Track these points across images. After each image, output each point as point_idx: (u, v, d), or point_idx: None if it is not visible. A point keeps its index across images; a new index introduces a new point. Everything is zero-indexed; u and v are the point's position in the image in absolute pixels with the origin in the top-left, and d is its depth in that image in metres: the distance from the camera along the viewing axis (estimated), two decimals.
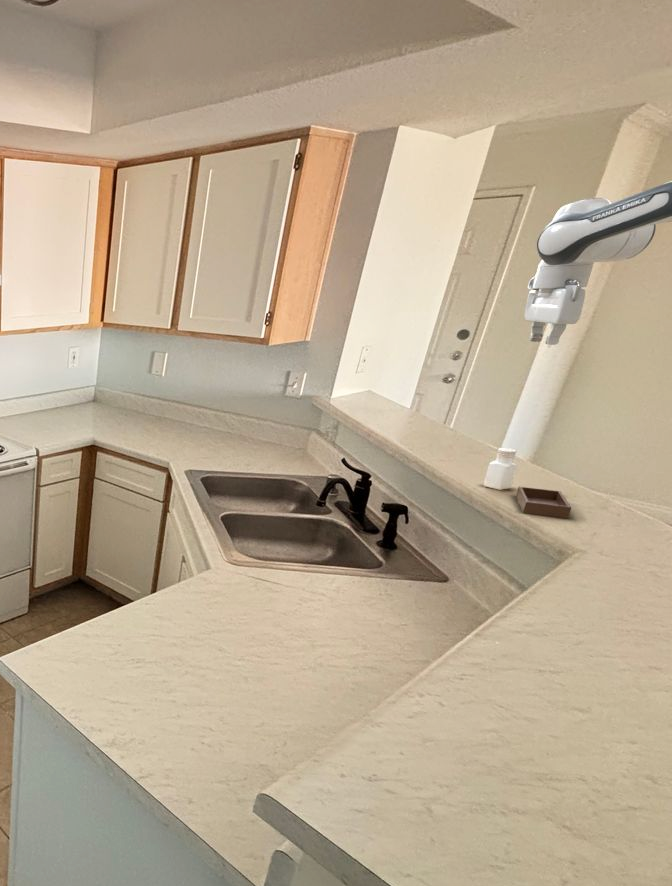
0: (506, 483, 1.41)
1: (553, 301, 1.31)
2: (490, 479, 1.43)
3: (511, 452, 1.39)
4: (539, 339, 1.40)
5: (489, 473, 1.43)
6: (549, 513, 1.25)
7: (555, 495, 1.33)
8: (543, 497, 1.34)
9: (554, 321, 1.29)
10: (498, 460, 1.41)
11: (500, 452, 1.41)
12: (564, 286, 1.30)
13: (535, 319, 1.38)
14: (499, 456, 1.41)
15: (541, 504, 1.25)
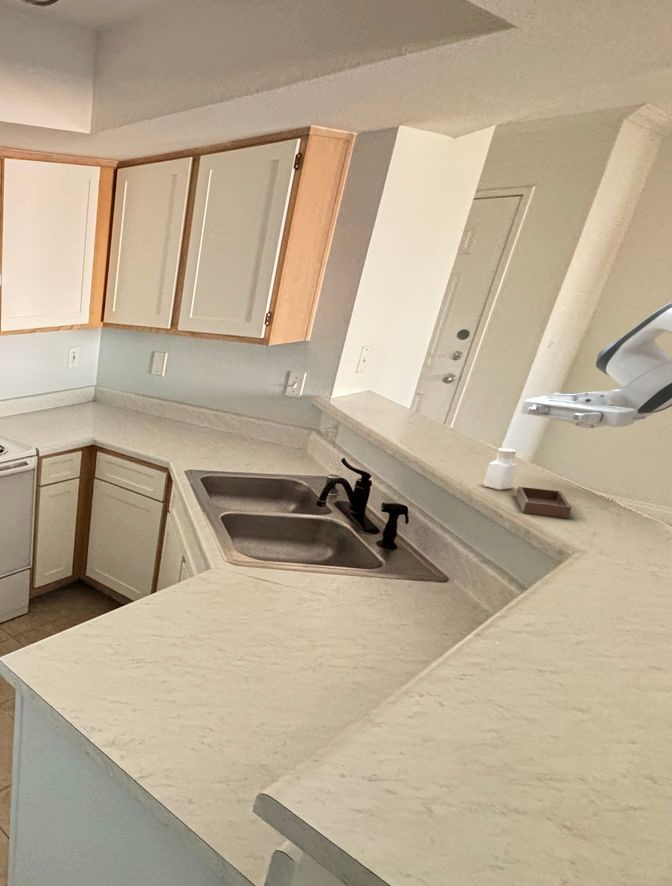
0: (506, 483, 1.41)
1: (605, 407, 1.38)
2: (490, 479, 1.43)
3: (511, 452, 1.39)
4: (534, 413, 1.45)
5: (489, 473, 1.43)
6: (549, 513, 1.25)
7: (555, 495, 1.33)
8: (543, 497, 1.34)
9: (616, 411, 1.33)
10: (498, 460, 1.41)
11: (500, 452, 1.41)
12: None
13: (559, 403, 1.43)
14: (499, 456, 1.41)
15: (541, 504, 1.25)
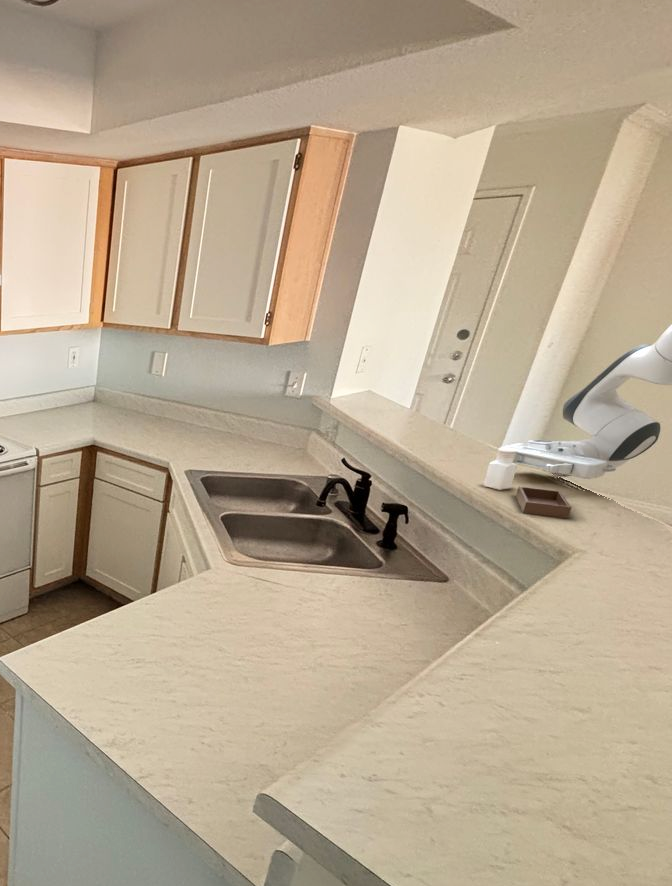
0: (506, 483, 1.41)
1: (577, 458, 1.41)
2: (490, 479, 1.43)
3: (511, 452, 1.39)
4: None
5: (489, 473, 1.43)
6: (549, 513, 1.25)
7: (555, 495, 1.33)
8: (543, 497, 1.34)
9: (586, 463, 1.36)
10: (498, 460, 1.41)
11: (500, 452, 1.41)
12: None
13: (532, 452, 1.46)
14: (499, 456, 1.41)
15: (541, 504, 1.25)
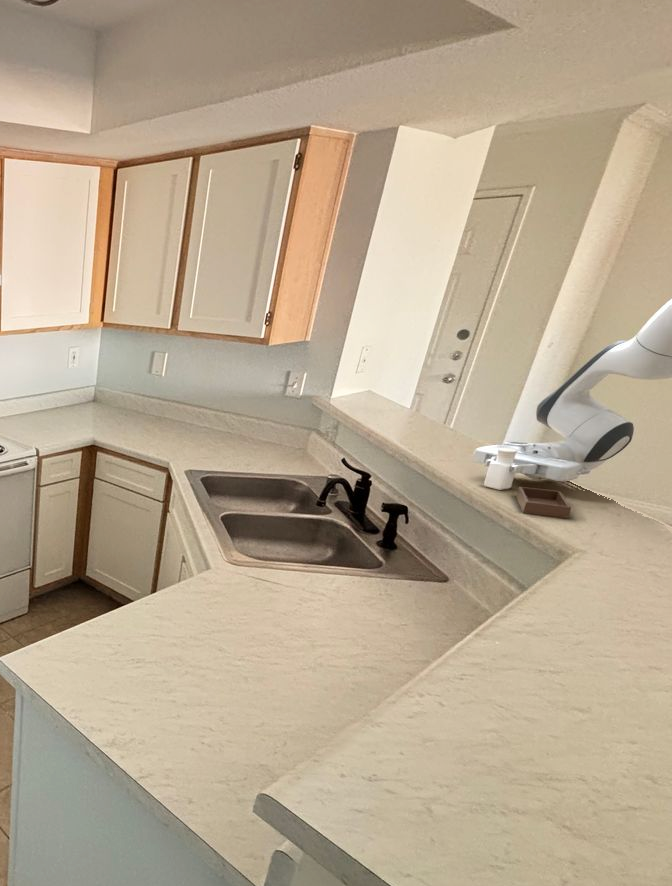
0: (506, 483, 1.41)
1: (551, 460, 1.39)
2: (490, 479, 1.43)
3: (511, 452, 1.39)
4: None
5: (489, 473, 1.43)
6: (549, 513, 1.25)
7: (555, 495, 1.33)
8: (543, 497, 1.34)
9: (560, 465, 1.34)
10: (498, 460, 1.41)
11: (500, 452, 1.41)
12: None
13: None
14: (499, 456, 1.41)
15: (541, 504, 1.25)
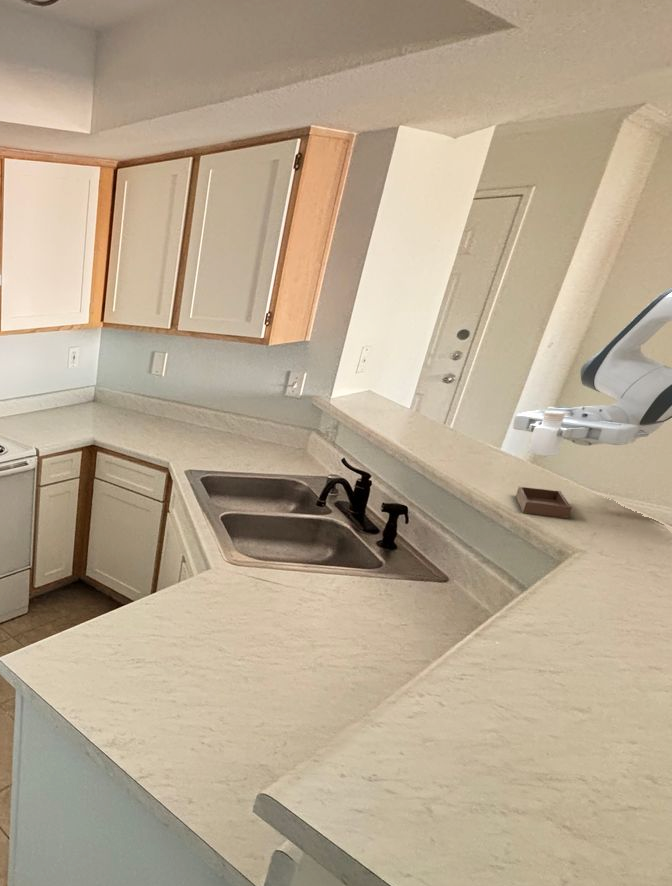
0: (553, 449, 1.28)
1: (604, 423, 1.26)
2: (535, 445, 1.30)
3: (559, 414, 1.26)
4: None
5: (534, 439, 1.30)
6: (549, 513, 1.25)
7: (555, 495, 1.33)
8: (543, 497, 1.34)
9: (615, 427, 1.21)
10: (544, 424, 1.28)
11: (547, 415, 1.27)
12: None
13: None
14: (546, 419, 1.28)
15: (541, 504, 1.25)
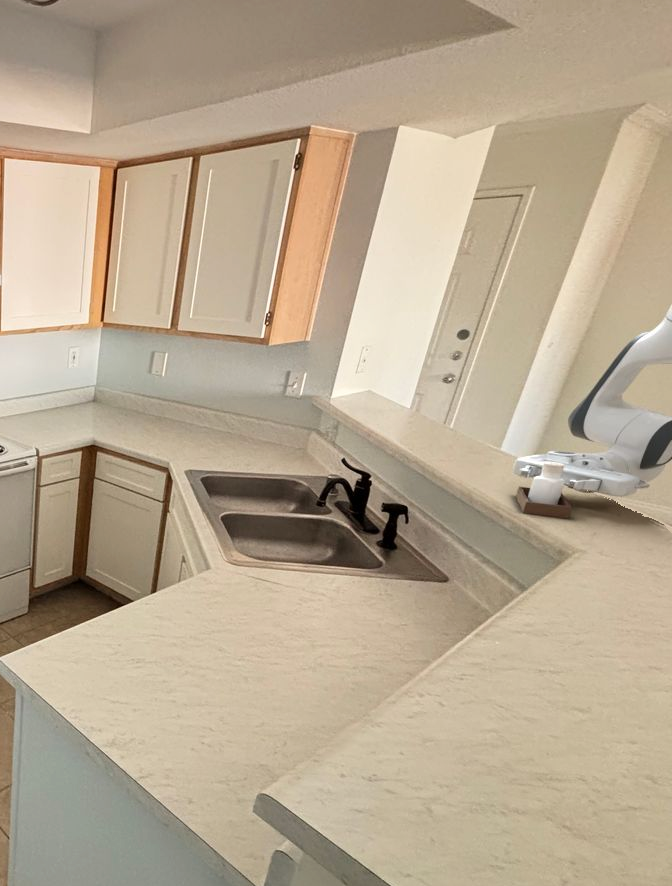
0: (553, 500, 1.28)
1: (604, 473, 1.25)
2: (534, 496, 1.29)
3: (559, 466, 1.26)
4: (526, 476, 1.32)
5: (533, 489, 1.29)
6: (549, 513, 1.25)
7: None
8: None
9: (616, 479, 1.21)
10: (544, 475, 1.28)
11: (546, 466, 1.27)
12: None
13: None
14: (545, 470, 1.27)
15: (541, 504, 1.25)
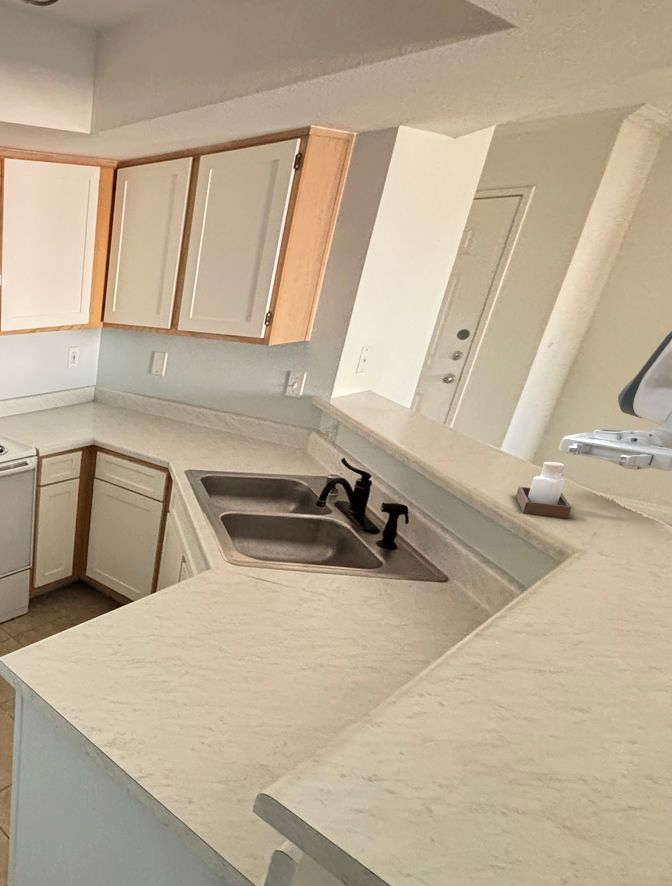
0: (553, 500, 1.28)
1: (654, 448, 1.27)
2: (534, 496, 1.29)
3: (559, 466, 1.26)
4: (575, 453, 1.33)
5: (533, 489, 1.29)
6: (549, 513, 1.25)
7: None
8: None
9: (668, 453, 1.22)
10: (544, 475, 1.28)
11: (546, 466, 1.27)
12: None
13: (602, 443, 1.32)
14: (545, 470, 1.27)
15: (541, 504, 1.25)
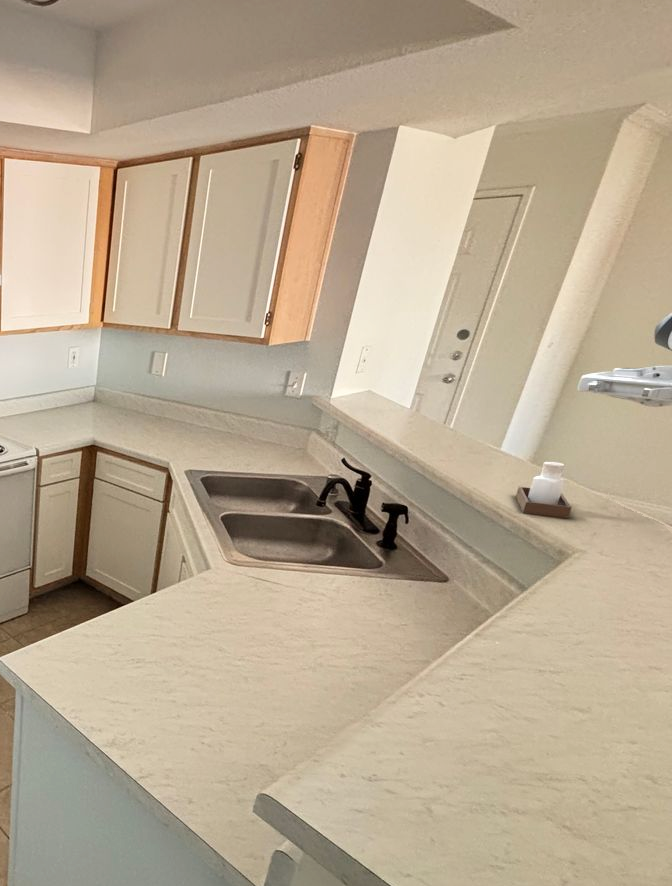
0: (553, 500, 1.28)
1: None
2: (534, 496, 1.29)
3: (559, 466, 1.26)
4: (595, 390, 1.29)
5: (533, 489, 1.29)
6: (549, 513, 1.25)
7: None
8: None
9: None
10: (544, 475, 1.28)
11: (546, 466, 1.27)
12: None
13: (623, 379, 1.27)
14: (545, 470, 1.27)
15: (541, 504, 1.25)
